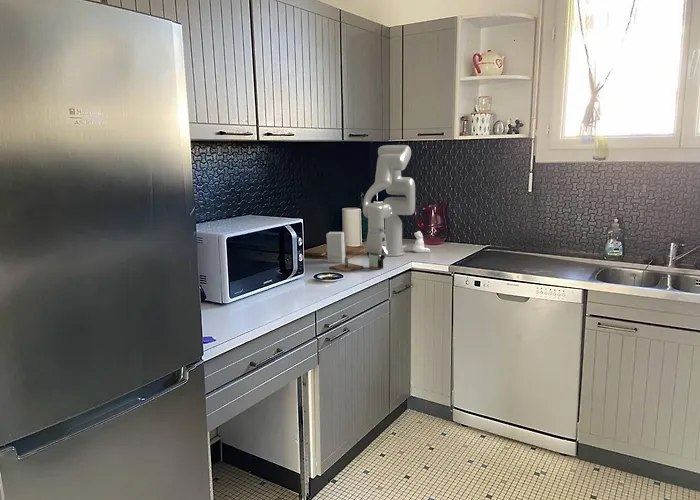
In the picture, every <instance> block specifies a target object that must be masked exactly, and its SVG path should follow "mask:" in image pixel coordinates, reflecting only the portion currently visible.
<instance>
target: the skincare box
mask: <svg viewBox="0 0 700 500" xmlns="http://www.w3.org/2000/svg"><path fill="white" fill-rule="evenodd" d="M325 237H326V248H327V249H326V252H327V263H329V264H331V263H333V264H335V263H337V264H343V263H345V257H346V244H345V231H329V232H327V233H326V234H325Z"/></svg>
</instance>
